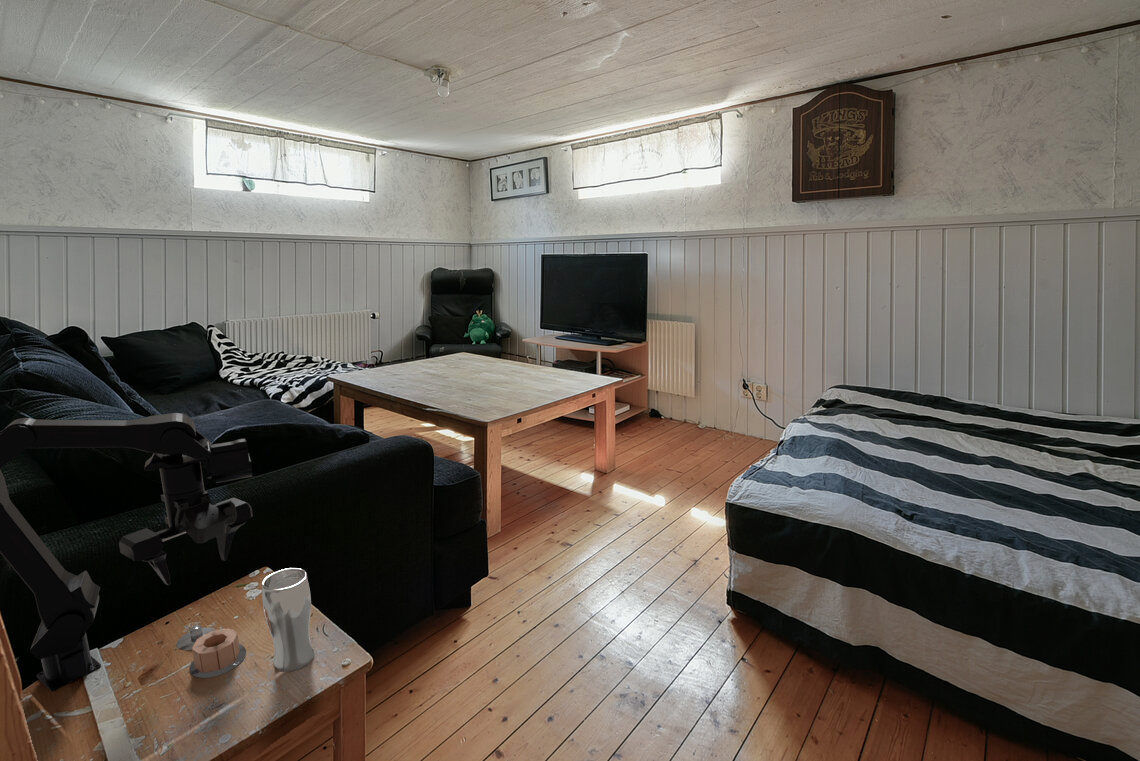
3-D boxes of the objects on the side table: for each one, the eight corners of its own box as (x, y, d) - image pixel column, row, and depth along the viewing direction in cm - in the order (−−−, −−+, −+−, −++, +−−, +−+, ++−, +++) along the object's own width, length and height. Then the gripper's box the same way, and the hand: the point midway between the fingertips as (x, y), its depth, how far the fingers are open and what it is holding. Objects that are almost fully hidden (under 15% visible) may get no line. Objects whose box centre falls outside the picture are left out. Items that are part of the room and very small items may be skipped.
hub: (180, 668, 94) (177, 652, 93) (230, 640, 100) (228, 625, 100) (206, 686, 89) (203, 670, 89) (256, 656, 96) (254, 641, 95)
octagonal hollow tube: (208, 677, 91) (205, 657, 90) (189, 663, 94) (186, 644, 93) (246, 655, 96) (243, 636, 95) (226, 642, 99) (223, 624, 98)
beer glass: (299, 677, 91) (289, 593, 88) (261, 671, 93) (250, 588, 90) (325, 648, 98) (317, 569, 95) (289, 643, 99) (280, 565, 96)
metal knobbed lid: (170, 644, 99) (168, 631, 99) (206, 625, 104) (204, 613, 104) (187, 656, 96) (185, 644, 96) (224, 636, 101) (222, 624, 101)
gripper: (142, 521, 85) (159, 614, 88) (264, 479, 100) (275, 560, 103) (109, 504, 90) (126, 592, 94) (230, 467, 106) (240, 544, 109)
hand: (197, 571), depth 100 cm, fingers open, 9 cm apart
